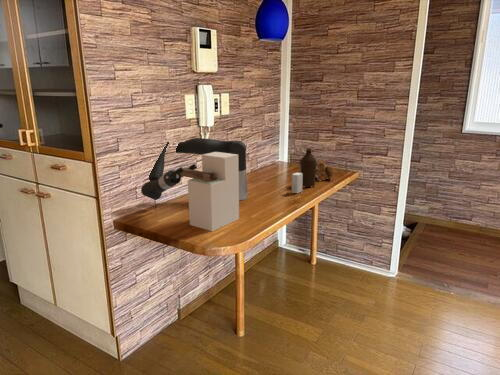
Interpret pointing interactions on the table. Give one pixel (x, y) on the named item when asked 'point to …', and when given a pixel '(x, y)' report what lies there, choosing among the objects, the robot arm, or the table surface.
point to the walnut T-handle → (199, 175)
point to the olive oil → (308, 169)
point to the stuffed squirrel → (323, 171)
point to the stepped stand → (215, 192)
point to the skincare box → (297, 182)
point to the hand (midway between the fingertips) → (189, 167)
